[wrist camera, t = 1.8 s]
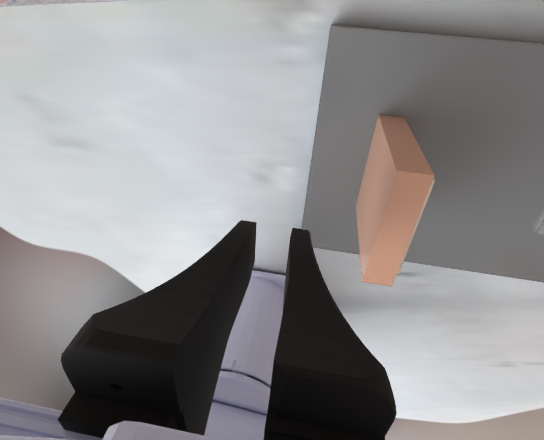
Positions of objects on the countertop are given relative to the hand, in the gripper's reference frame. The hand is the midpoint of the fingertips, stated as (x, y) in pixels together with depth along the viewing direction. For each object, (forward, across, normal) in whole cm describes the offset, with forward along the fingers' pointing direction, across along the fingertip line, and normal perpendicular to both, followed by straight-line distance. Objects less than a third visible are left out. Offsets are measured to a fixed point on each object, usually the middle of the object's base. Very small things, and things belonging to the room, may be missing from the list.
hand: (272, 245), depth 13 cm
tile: (+9, -5, 0) cm, 10 cm away
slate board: (+10, -10, 0) cm, 14 cm away
